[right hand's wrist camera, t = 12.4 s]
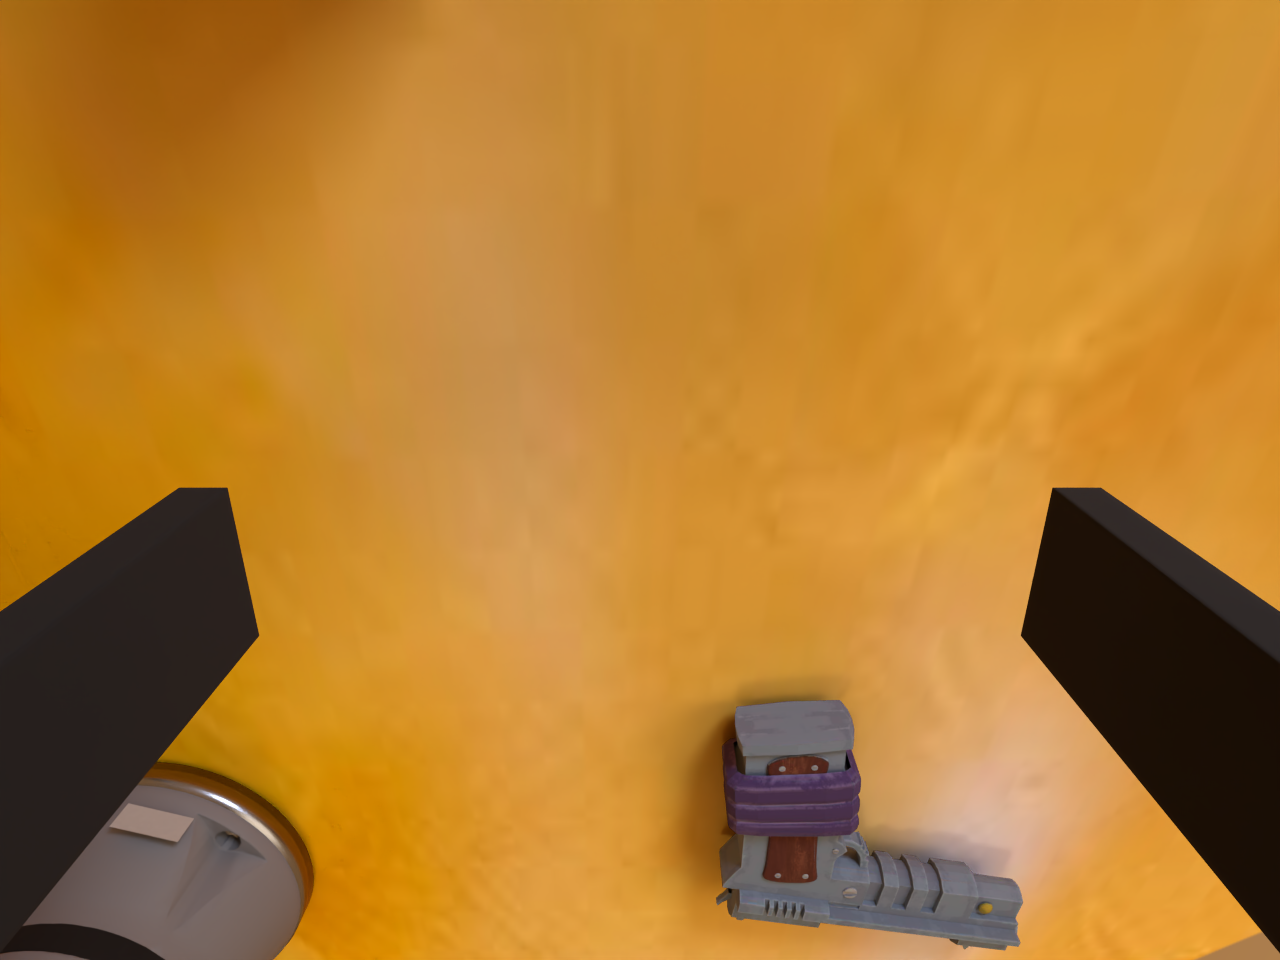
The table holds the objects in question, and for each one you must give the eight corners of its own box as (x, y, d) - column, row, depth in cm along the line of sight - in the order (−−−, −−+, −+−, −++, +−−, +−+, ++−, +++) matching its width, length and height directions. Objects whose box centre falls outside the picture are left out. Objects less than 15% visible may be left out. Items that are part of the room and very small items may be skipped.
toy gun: (1080, 727, 41) (987, 921, 47) (735, 678, 40) (684, 883, 46) (1121, 781, 38) (1015, 984, 43) (743, 729, 37) (687, 944, 43)
